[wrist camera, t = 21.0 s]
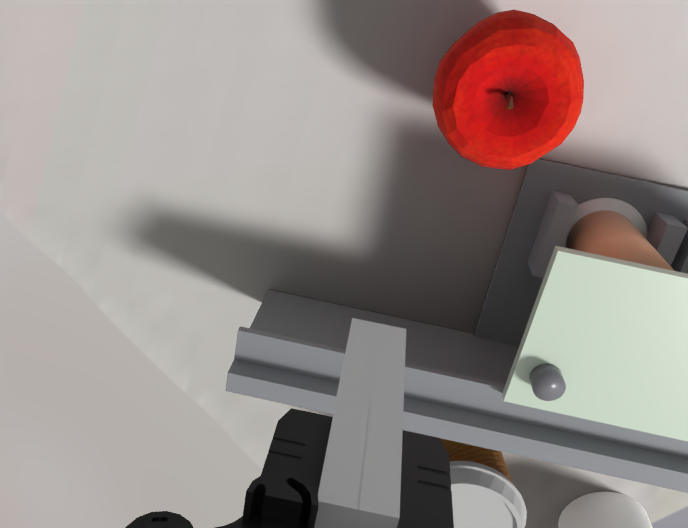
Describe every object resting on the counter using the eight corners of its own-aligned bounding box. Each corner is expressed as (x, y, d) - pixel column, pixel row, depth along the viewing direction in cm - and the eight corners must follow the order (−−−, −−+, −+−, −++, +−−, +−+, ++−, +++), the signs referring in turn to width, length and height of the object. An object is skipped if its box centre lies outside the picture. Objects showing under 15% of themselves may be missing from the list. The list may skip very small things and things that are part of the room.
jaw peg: (646, 218, 46) (695, 268, 38) (621, 277, 48) (663, 337, 40) (579, 204, 46) (614, 251, 38) (557, 264, 48) (586, 321, 40)
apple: (467, -14, 42) (481, -13, 32) (582, 41, 42) (631, 58, 33) (409, 108, 46) (407, 143, 36) (516, 157, 46) (543, 205, 36)
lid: (555, 245, 37) (562, 259, 35) (857, 309, 37) (879, 326, 35) (501, 393, 42) (505, 412, 40) (769, 452, 41) (785, 473, 39)
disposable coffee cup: (520, 391, 54) (545, 493, 43) (492, 473, 58) (509, 585, 47) (412, 370, 55) (411, 466, 44) (392, 453, 59) (386, 560, 48)
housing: (295, 107, 46) (256, 147, 35) (820, 217, 45) (954, 295, 34) (266, 304, 54) (225, 390, 42) (719, 403, 53) (802, 517, 41)
